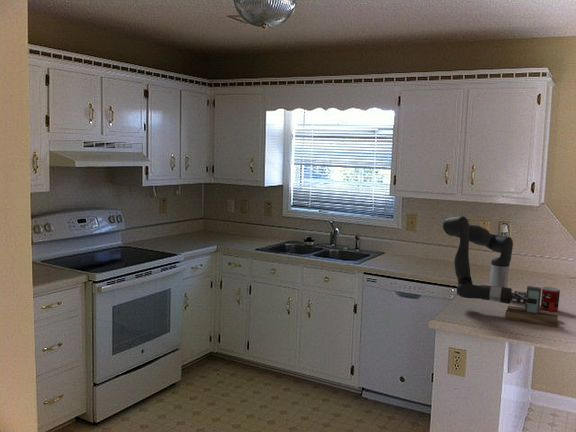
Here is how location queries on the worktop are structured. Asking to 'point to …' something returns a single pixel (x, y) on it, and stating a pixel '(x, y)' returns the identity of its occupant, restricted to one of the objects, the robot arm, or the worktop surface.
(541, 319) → the brown grooved block
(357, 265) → the worktop surface
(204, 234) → the worktop surface
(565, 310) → the worktop surface
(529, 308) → the grey rectangular block
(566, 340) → the worktop surface
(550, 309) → the canned food
